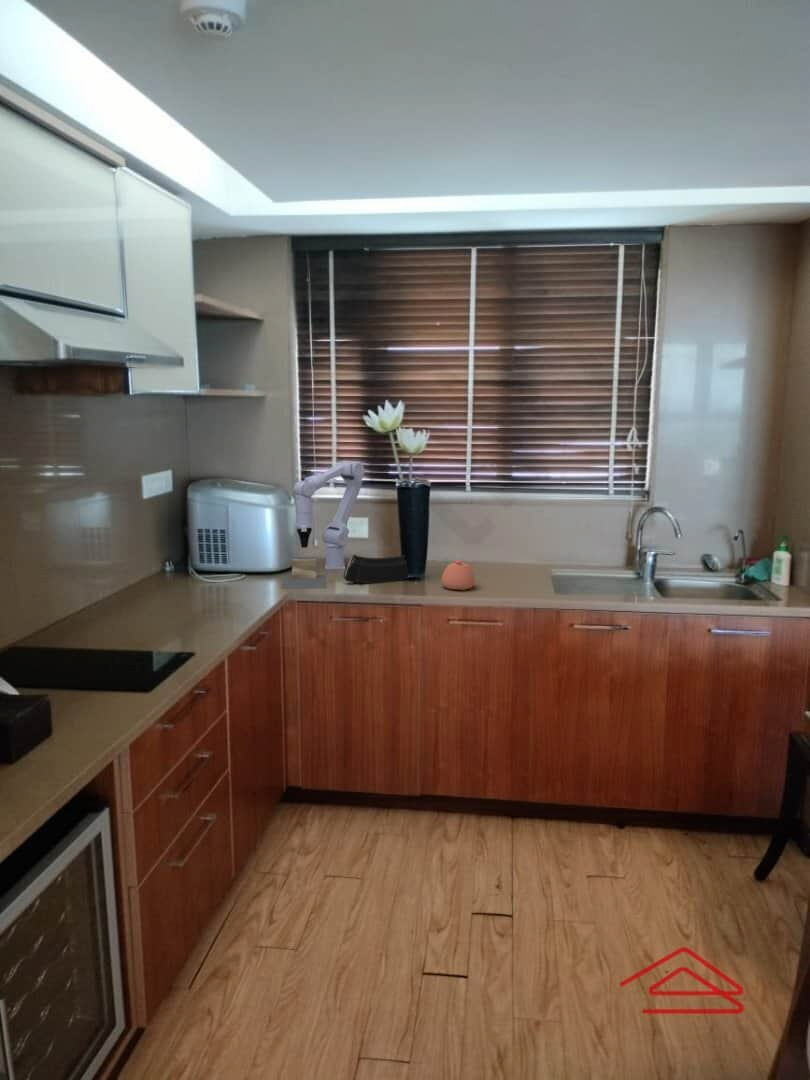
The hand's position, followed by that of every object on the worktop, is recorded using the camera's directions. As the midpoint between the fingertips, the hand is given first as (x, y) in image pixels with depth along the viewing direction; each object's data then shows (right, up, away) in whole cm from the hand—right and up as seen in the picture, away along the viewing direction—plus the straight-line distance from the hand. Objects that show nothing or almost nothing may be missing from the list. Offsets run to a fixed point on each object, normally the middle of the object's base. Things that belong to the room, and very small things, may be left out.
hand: (304, 547), depth 290 cm
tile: (+1, -12, -7) cm, 14 cm away
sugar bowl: (+59, -15, -18) cm, 63 cm away
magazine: (+31, -13, -10) cm, 35 cm away
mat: (+2, -13, -13) cm, 18 cm away
